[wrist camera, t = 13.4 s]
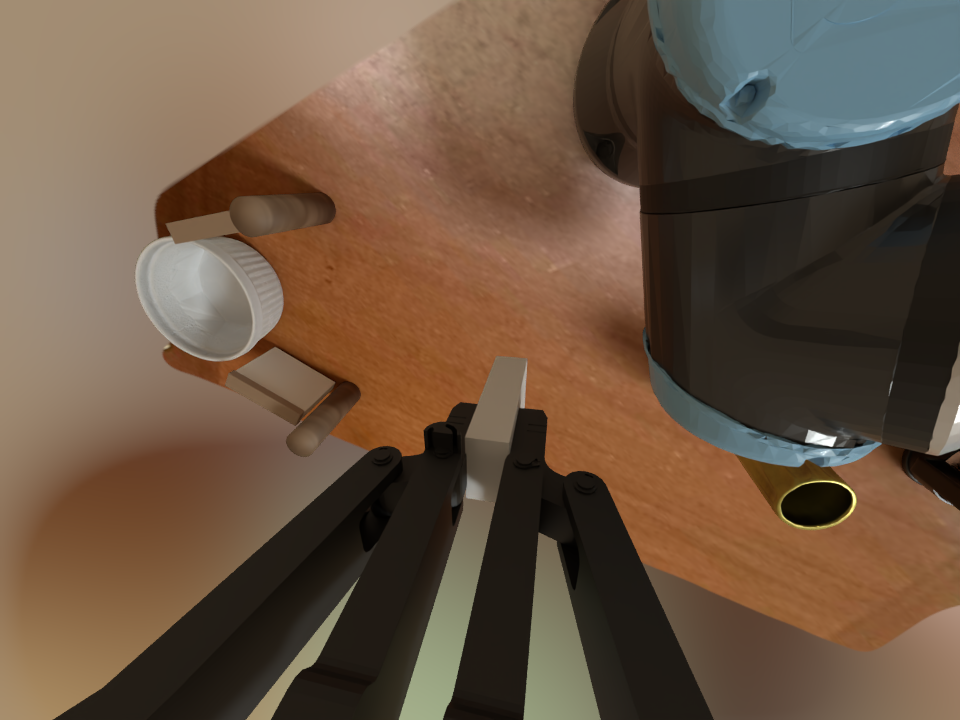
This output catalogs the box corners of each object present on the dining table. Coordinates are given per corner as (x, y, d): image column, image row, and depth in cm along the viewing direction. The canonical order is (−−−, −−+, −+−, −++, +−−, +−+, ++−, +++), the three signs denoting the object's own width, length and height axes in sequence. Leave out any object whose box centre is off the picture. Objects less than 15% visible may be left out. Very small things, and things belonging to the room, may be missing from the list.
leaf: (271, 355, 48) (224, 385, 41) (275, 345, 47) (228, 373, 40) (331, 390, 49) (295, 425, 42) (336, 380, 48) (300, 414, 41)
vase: (697, 391, 41) (764, 484, 29) (760, 374, 40) (862, 466, 27) (709, 435, 43) (776, 540, 31) (769, 421, 42) (868, 527, 29)
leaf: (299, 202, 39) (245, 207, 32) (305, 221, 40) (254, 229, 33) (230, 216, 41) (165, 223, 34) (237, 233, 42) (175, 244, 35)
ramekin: (316, 316, 45) (279, 338, 39) (239, 353, 49) (194, 378, 43) (247, 207, 41) (193, 212, 35) (168, 257, 45) (108, 270, 39)
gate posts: (306, 192, 39) (225, 195, 29) (333, 192, 39) (260, 196, 29) (340, 401, 50) (289, 455, 40) (362, 403, 49) (315, 458, 39)
